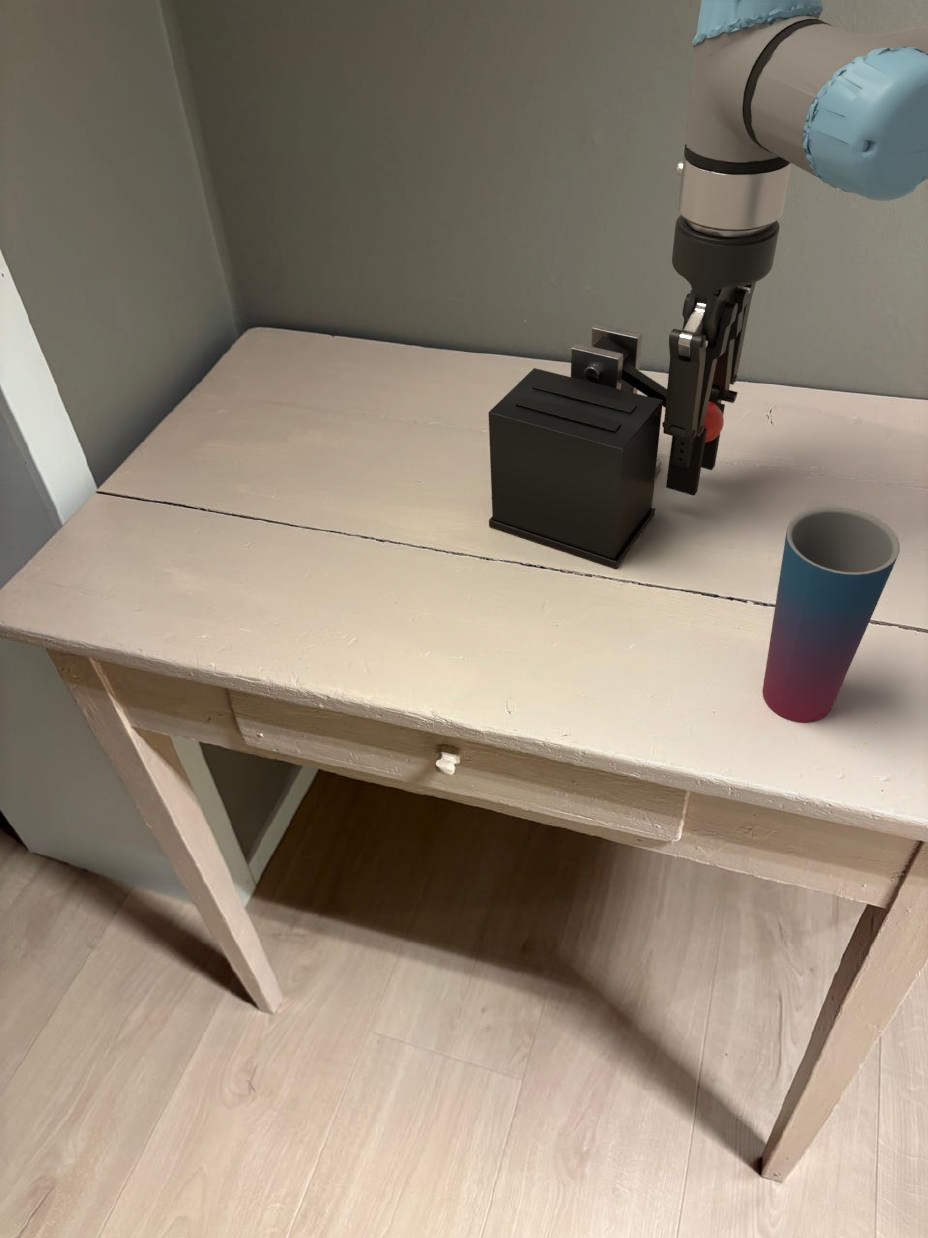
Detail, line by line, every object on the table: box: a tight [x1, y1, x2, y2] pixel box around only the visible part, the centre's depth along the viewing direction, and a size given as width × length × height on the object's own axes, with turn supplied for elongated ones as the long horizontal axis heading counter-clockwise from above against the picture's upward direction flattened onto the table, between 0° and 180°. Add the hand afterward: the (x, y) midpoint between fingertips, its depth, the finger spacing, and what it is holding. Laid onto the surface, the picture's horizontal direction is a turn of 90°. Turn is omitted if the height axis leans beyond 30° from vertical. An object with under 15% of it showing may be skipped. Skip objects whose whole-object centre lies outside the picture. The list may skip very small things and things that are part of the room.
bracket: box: [570, 323, 662, 477], centre depth 87 cm, size 10×6×14 cm, turn 59°
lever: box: [593, 335, 725, 443], centre depth 83 cm, size 13×4×4 cm, turn 59°
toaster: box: [487, 367, 663, 570], centre depth 83 cm, size 13×8×12 cm
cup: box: [761, 505, 901, 723], centre depth 66 cm, size 7×7×15 cm
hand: (690, 476), depth 87 cm, fingers closed on lever, 4 cm apart
